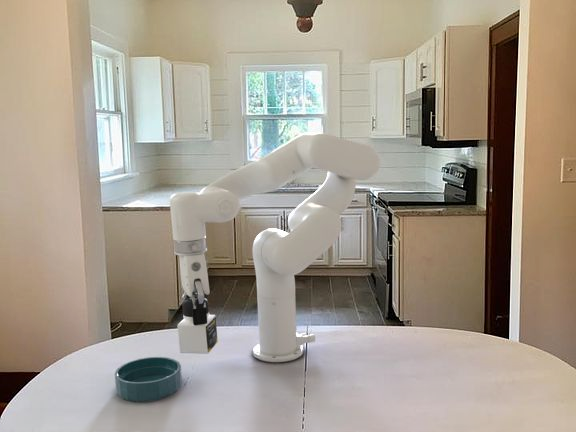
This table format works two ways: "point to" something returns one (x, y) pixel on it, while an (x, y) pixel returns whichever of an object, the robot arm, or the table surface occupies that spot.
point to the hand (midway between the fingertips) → (196, 318)
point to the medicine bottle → (196, 331)
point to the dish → (148, 379)
